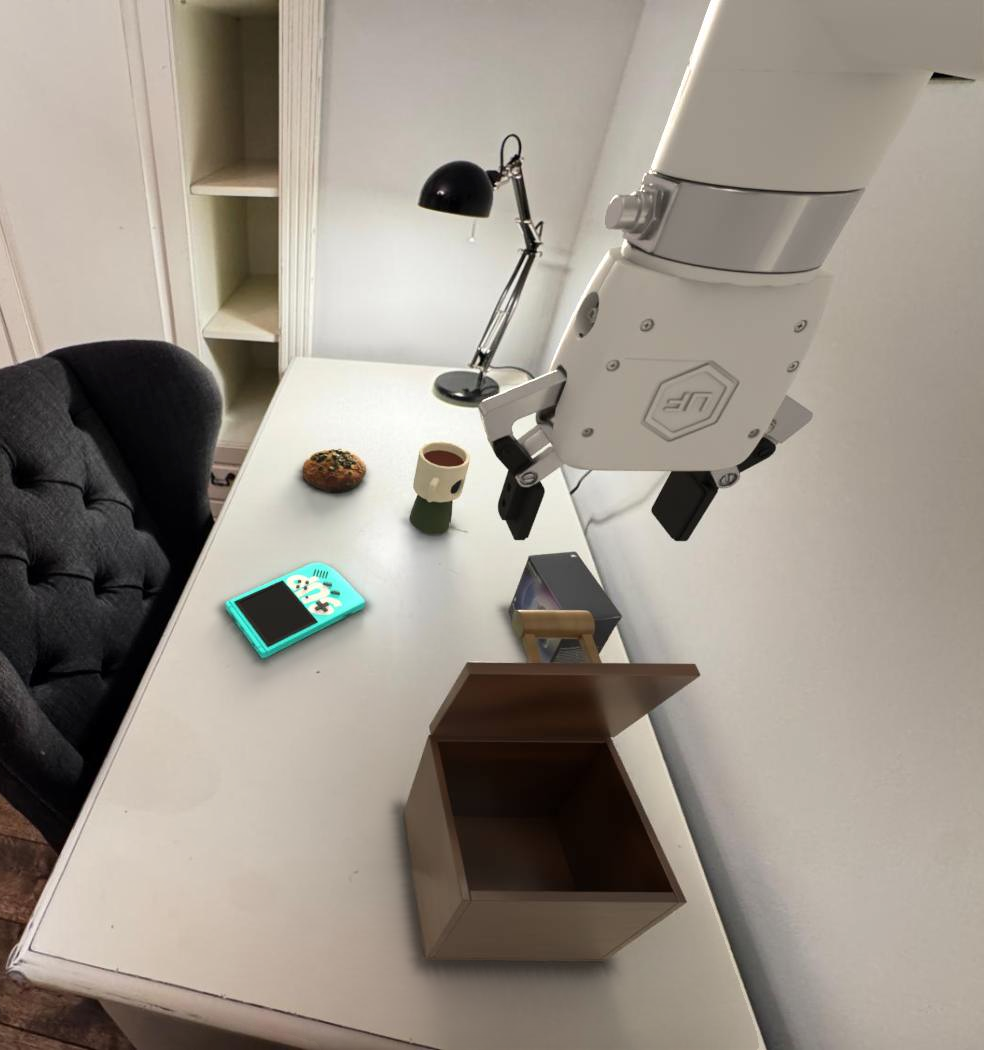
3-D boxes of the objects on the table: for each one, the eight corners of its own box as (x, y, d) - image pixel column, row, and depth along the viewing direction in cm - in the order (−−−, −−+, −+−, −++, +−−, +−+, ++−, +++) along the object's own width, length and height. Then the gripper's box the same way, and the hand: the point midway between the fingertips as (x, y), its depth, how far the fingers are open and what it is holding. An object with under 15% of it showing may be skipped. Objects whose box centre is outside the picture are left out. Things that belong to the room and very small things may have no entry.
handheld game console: (366, 608, 75) (367, 601, 74) (262, 661, 69) (262, 654, 68) (323, 563, 82) (323, 556, 81) (224, 608, 75) (223, 601, 74)
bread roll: (323, 500, 92) (324, 473, 90) (290, 474, 101) (289, 448, 98) (378, 483, 97) (380, 456, 94) (342, 459, 105) (343, 434, 102)
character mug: (443, 552, 84) (461, 481, 75) (396, 538, 86) (409, 467, 77) (459, 510, 91) (477, 441, 83) (416, 498, 93) (429, 430, 85)
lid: (701, 675, 36) (665, 598, 39) (469, 673, 36) (453, 596, 39) (614, 737, 45) (591, 670, 49) (430, 736, 45) (420, 669, 49)
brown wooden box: (604, 961, 46) (688, 902, 37) (425, 959, 46) (462, 900, 37) (553, 813, 55) (610, 735, 46) (403, 812, 55) (428, 734, 46)
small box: (503, 610, 75) (525, 552, 68) (550, 606, 76) (577, 548, 69) (539, 678, 67) (568, 620, 60) (591, 673, 68) (626, 615, 61)
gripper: (560, 248, 22) (466, 567, 33) (1012, 250, 22) (766, 569, 33) (503, 206, 27) (439, 489, 39) (861, 207, 27) (694, 491, 39)
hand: (589, 526), depth 36 cm, fingers open, 9 cm apart
